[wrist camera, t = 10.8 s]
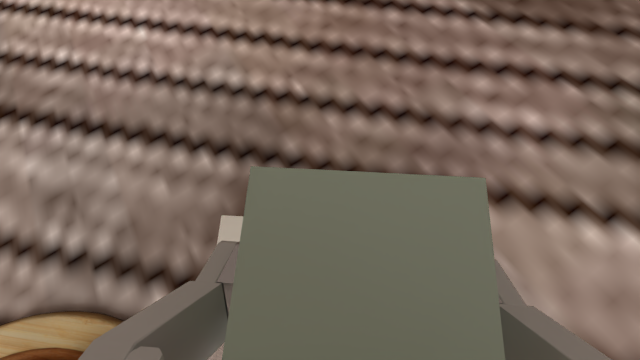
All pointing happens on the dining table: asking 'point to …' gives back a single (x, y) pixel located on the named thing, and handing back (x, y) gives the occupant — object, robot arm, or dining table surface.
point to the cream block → (230, 228)
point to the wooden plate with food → (53, 335)
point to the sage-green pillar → (364, 268)
